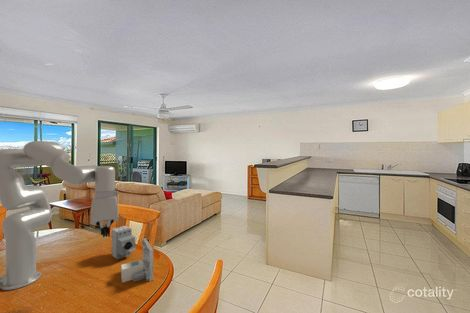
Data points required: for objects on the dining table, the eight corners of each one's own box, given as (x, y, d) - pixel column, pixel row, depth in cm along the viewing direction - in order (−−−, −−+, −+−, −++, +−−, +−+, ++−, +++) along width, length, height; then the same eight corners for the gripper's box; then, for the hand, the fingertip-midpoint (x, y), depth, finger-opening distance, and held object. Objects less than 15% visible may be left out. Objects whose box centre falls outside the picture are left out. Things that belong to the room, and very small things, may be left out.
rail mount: (134, 286, 90) (134, 254, 90) (129, 269, 103) (129, 241, 103) (153, 280, 94) (153, 250, 94) (145, 264, 108) (145, 238, 107)
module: (122, 282, 92) (122, 269, 92) (121, 277, 97) (121, 264, 96) (143, 276, 97) (143, 263, 97) (141, 271, 102) (141, 258, 101)
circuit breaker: (122, 263, 109) (122, 235, 108) (111, 255, 117) (111, 229, 117) (136, 257, 115) (136, 231, 114) (124, 250, 123) (124, 225, 123)
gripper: (123, 191, 97) (123, 229, 97) (84, 194, 89) (84, 236, 89) (125, 194, 91) (125, 234, 91) (83, 197, 83) (83, 243, 83)
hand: (105, 235), depth 90 cm, fingers closed
